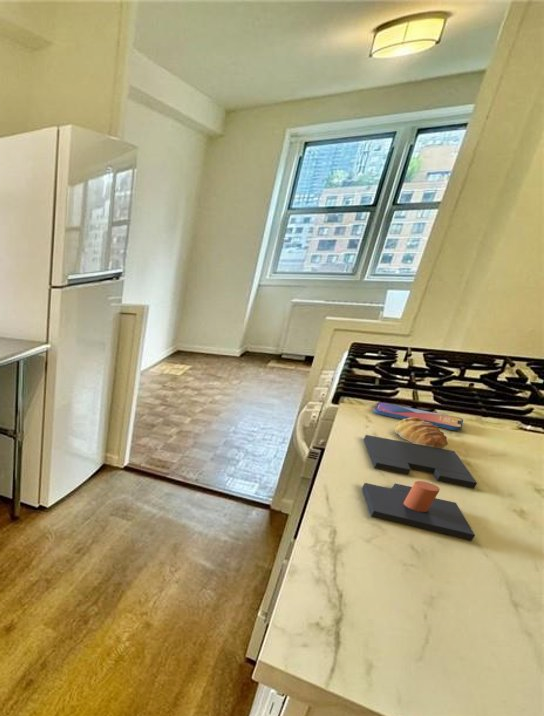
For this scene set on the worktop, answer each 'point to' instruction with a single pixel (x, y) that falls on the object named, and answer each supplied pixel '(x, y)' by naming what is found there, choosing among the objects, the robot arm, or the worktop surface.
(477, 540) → the worktop surface
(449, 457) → the notch pad
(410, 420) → the pastry
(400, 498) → the tab pad
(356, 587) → the worktop surface
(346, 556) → the worktop surface
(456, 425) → the smartphone
